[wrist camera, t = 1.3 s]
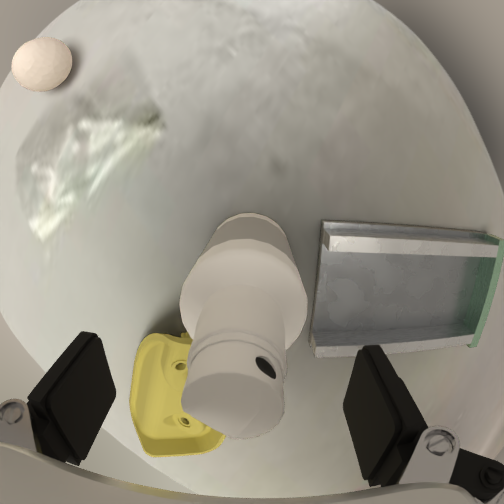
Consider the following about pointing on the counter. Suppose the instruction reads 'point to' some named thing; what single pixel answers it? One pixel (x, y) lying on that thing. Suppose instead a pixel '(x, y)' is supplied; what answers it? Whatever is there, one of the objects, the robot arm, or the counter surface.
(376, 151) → the counter surface
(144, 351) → the plastic component
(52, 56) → the egg
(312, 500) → the robot arm
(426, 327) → the rail cradle
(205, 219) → the counter surface
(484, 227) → the counter surface
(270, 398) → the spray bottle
